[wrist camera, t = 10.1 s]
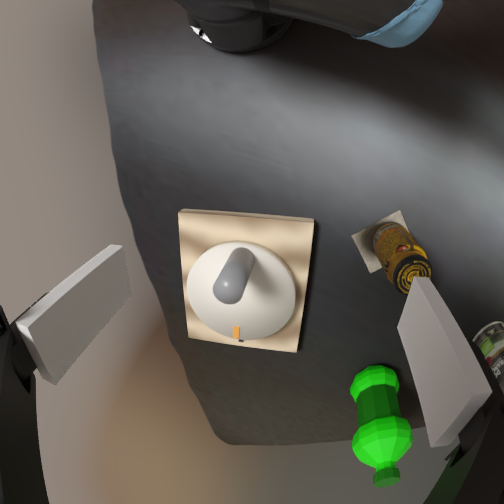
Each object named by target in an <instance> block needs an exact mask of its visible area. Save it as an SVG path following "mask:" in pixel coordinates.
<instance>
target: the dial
mask: <svg viewBox="0 0 504 504" xmlns="http://www.w3.org/2000/svg"><path fill="white" fill-rule="evenodd" d="M186 288H187V296H188V300H189V302H190V305H191V307H192V309H193V311H194V312H195V314H196V315H197V316H198V318H199V319H200V320H201V321H202V322H203V323H204V324H205V325H207V326H208V327H209V328H211V329H212V330H214V331H216V332H217V333H219V334H222V335H224V336H227V337H230V338H234V339H240V340H255V339H261V338H264V337H267V336H270V335H272V334H274V333H275V332H277V331H279V330H280V329H281V328H282V327H283V326H284V325H285V324H286V323H287V322H288V320H289V319H290V317H291V315H292V313H293V310H294V306H295V297H296V287H295V282H294V278H293V275H292V273H291V271H290V269H289V268H288V266H287V265H286V263H285V262H284V261H283V260H282V259H281V258H280V257H279V256H278V255H277V254H275V253H274V252H273V251H271V250H270V249H268V248H266V247H264V246H262V245H260V244H257V243H254V242H249V241H242V240H232V241H225V242H222V243H218V244H216V245H214V246H212V247H210V248H209V249H207V250H206V251H205V252H204V253H202V254H201V255H200V257H199V258H198V259H197V261H196V262H195V263H194V264H193V266H192V268H191V270H190V272H189V274H188V278H187V287H186Z"/></svg>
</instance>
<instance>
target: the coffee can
mask: <svg viewBox="0 0 504 504" xmlns="http://www.w3.org/2000/svg"><path fill="white" fill-rule="evenodd" d="M472 341H473V342H474V343H475V344H477V345H478V346H479V347H480V349H481V351H482V352H483V354H484V356H485V360H487V362H488V364H489V365H490V366H489V368H491V369H492V371H493V373H494V375H495V377H496V379H497V381H498V383H499V385H500V387H501V390H502V392H503V394H504V323H503V322H501V321H495V322H492V323H489V324H488V325H486V326H485V327H483V328H482V329H481V330H480V331H479V332H478V333H477V334H476V335H475V337H474V338H473V340H472Z"/></svg>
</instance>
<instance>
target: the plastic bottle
mask: <svg viewBox="0 0 504 504" xmlns="http://www.w3.org/2000/svg"><path fill="white" fill-rule="evenodd" d="M398 390H399V382H398V379H397V376H396V373H395V372H394V371H393V370H392V369H390V368H387V367H385V366H382V365H373V366H368V367H367V368H365V369H364V370H362V371H361V372H359V373H358V374H357V375H356V377H355V379H354V381H353V383H352V385H351V388H350V392H351V395H352V396H353V398H354V400H355V402H356V403H357V413H358V425H359V429H358V431H357V432H356V434H355V435H354V436H353V441H352V449H353V451H354V453H355V455H356V456H357V458H358V459H359V460H360V461H361V462H363V463H365V464H367V465H369V466H372V467H374V468H376V473H375V474H374V475H373V485H374V486H375V487H385V486H390V485H393V484H395V483H397V482H399V480H400V472H399V469H398V468H396V465H395V463H396V462H397V461H398V460H399V459H400V458H401V457H402V456H403V455H404V454H405V453H406V452H407V450H408V449H409V448H410V447H411V445H412V441H413V436H412V432H411V428H410V425H409V423H408V421H407V419H404V418H402V417H401V412H400V407H399V403H398V398H397V392H398Z"/></svg>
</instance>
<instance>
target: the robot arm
mask: <svg viewBox="0 0 504 504" xmlns="http://www.w3.org/2000/svg"><path fill="white" fill-rule="evenodd" d="M175 1H176V2H177V3H178V4H180V5H181V6H182V7H183V8H184V9H186V10H187V16H188V21H189V24H190V26H191V28H192V29H193V31H194V32H195V33H196V35H197V36H198V37H199V38H201V39H202V40H203V41H204V42H206V43H207V44H209V45H210V46H212V47H214V48H216V49H219V50H222V51H227V52H236V53H240V52H250V51H255V50H258V49H261V48H264V47H266V46H268V45H270V44H272V43H274V42H275V41H277V40H278V39H279V38H280V37H282V36H283V35H284V34H285V33H286V31H287V30H288V29H289V27H290V25H291V24H292V21H293V19H294V18H295V19H299V20H303V21H307V22H311V23H315V24H319V25H322V26H326V27H329V28H332V29H336V30H339V31H342V32H345V33H348V34H350V35H351V36H352V37H354V38H356V39H362V40H368V41H371V42H374V43H377V44H380V45H382V46H385V47H389V48H396V47H404V46H406V45H409V44H410V43H412V42H414V41H415V40H416V39H418V38H419V37H420V36H421V35H422V34H423V33H424V32H425V31H426V30H427V29H428V28H429V26H430V25H431V24H432V22H433V21H434V20H435V18H436V17H437V15H438V13H439V12H440V10H441V8H442V6H443V2H442V0H175ZM130 297H131V290H130V284H129V278H128V273H127V266H126V260H125V253H124V247H123V246H120V245H109V246H108V247H107V248H106V249H104V250H102V251H101V252H100V253H98V254H97V255H96V256H94V257H93V258H92V259H91V260H89V261H88V262H87V263H85V264H84V265H83V266H82V267H80V268H79V269H78V270H76V271H75V272H74V273H72V274H71V275H70V276H69V277H67V278H66V279H65V280H64V281H62V282H61V283H60V284H59V285H57V286H56V287H55V288H54V289H53V290H51V291H50V292H48V293H46V294H44V295H43V296H42V297H41V298H40V299H38V301H37V302H35V303H34V304H33V305H32V306H31V307H29V308H28V309H27V310H26V311H25V312H23V313H22V314H21V315H20V316H19V317H18V318H17V319H16V320H14V321H13V322H12V323H11V324H10V325H9V323H8V321H7V318H6V316H5V313H4V311H3V308H2V307H1V305H0V504H49V501H48V496H47V491H46V487H45V481H44V477H43V470H42V463H41V457H40V450H39V440H38V429H37V414H36V379H35V375H34V373H33V371H34V370H35V369H36V368H37V369H38V371H39V372H40V374H41V376H42V378H43V379H45V380H47V381H49V382H50V383H53V384H54V385H56V384H57V383H58V382H59V380H60V379H61V378H62V377H63V375H64V374H65V373H66V372H67V370H68V369H69V368H70V367H71V365H72V364H73V363H74V362H75V361H76V359H77V358H78V357H79V356H80V354H81V353H82V352H83V351H84V350H85V349H86V347H87V346H88V345H89V344H90V342H91V341H92V340H93V339H94V338H95V337H96V335H97V334H98V333H99V332H100V331H101V330H102V329H103V327H104V326H105V325H106V324H107V323H108V322H109V320H110V319H111V318H112V317H113V316H114V315H115V314H116V312H117V311H118V310H119V309H120V308H121V307H122V306H123V305H124V303H125V302H126V301H127V300H128V299H129V298H130ZM397 329H398V332H399V335H400V338H401V341H402V344H403V347H404V350H405V353H406V356H407V359H408V362H409V365H410V369H411V372H412V375H413V379H414V382H415V386H416V389H417V393H418V396H419V400H420V404H421V408H422V412H423V416H424V420H425V424H426V428H427V432H428V437H429V441H430V446H431V447H439V446H445V445H449V444H450V443H451V442H452V441H453V440H454V439H455V438H456V437H457V435H458V436H459V439H460V444H459V445H458V446H457V447H456V448H455V449H454V450H453V451H452V452H451V453H450V454H449V455H448V456H447V457H446V458H445V460H446V461H447V460H448V459H449V458H450V457H451V458H450V460H449V462H448V464H447V466H446V467H445V469H444V471H443V473H442V474H441V476H440V478H439V479H438V482H437V483H436V485H435V486H434V488H433V490H432V491H431V492H430V494H429V496H428V497H427V499H426V500H425V502H424V503H423V504H504V394H503V392H502V390H501V387H500V385H499V383H498V381H497V379H496V377H495V375H494V373H493V371H492V369H491V368H489V366H490V365H489V364H488V362H487V360H485V356H484V354H483V352H482V351H481V349H480V347H479V346H478V345H477V344H475V343H474V342H473V341H472V340H471V339H466V338H465V336H464V334H463V333H462V331H461V329H460V327H459V326H458V324H457V322H456V321H455V319H454V317H453V315H452V314H451V312H450V310H449V309H448V307H447V306H446V304H445V302H444V301H443V299H442V298H441V296H440V294H439V293H438V291H437V290H436V288H435V287H434V285H433V284H432V282H431V280H430V279H429V278H426V277H415V276H414V278H413V281H412V284H411V288H410V291H409V294H408V297H407V300H406V303H405V306H404V309H403V312H402V315H401V318H400V321H399V324H398V326H397Z"/></svg>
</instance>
